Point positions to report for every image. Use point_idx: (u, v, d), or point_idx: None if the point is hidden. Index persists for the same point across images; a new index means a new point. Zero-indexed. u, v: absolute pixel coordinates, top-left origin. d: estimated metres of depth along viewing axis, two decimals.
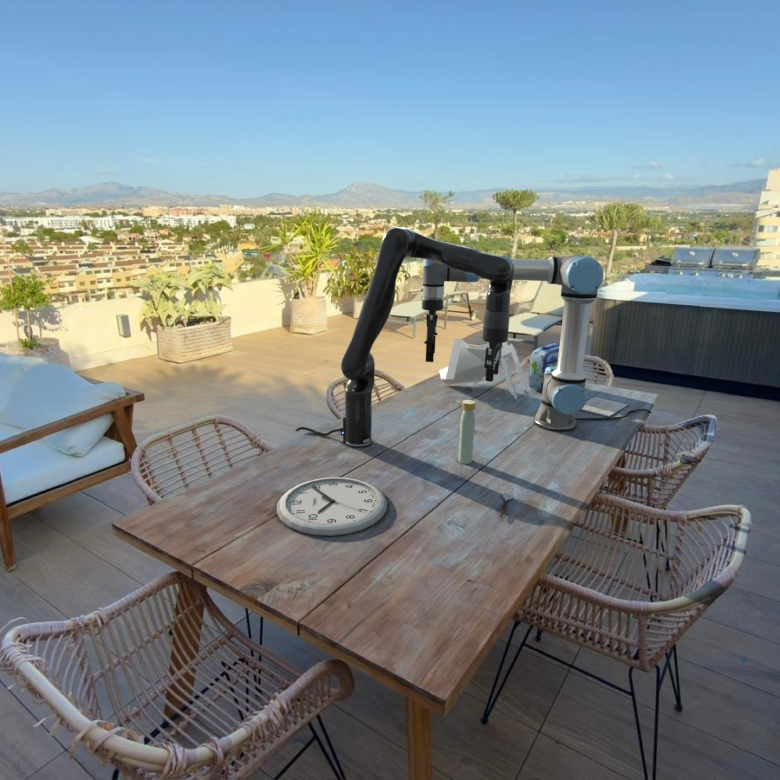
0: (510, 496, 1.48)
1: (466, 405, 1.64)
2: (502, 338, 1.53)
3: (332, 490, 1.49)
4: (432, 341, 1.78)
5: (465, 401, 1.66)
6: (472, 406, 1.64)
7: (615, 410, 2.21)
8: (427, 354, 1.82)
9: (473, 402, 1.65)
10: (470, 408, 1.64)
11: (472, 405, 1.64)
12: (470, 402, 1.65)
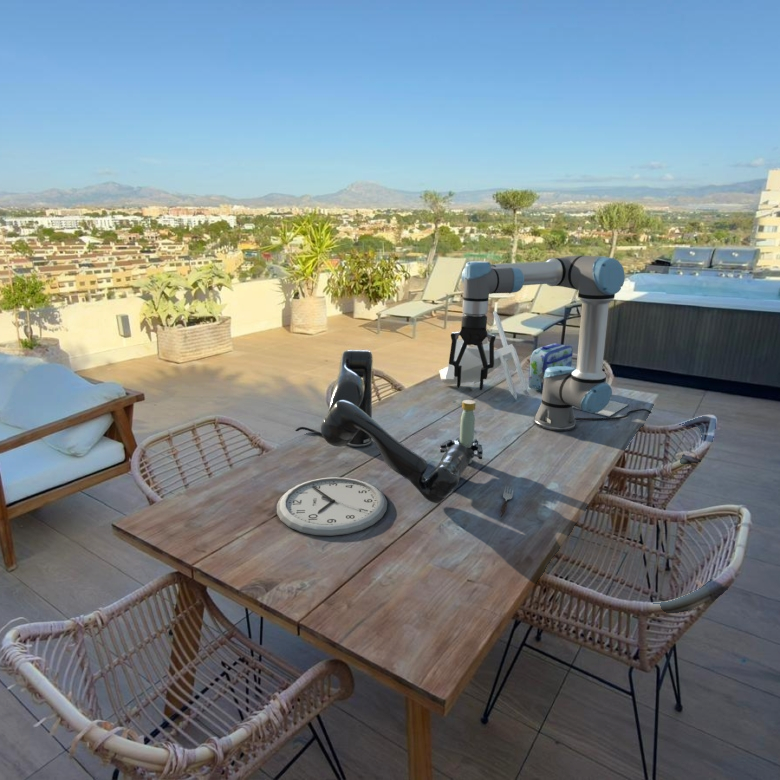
0: (510, 496, 1.48)
1: (466, 405, 1.64)
2: (466, 450, 1.58)
3: (332, 490, 1.49)
4: (449, 361, 1.62)
5: (465, 401, 1.66)
6: (472, 406, 1.64)
7: (615, 410, 2.21)
8: None
9: (473, 402, 1.65)
10: (470, 408, 1.64)
11: (472, 405, 1.64)
12: (470, 402, 1.65)
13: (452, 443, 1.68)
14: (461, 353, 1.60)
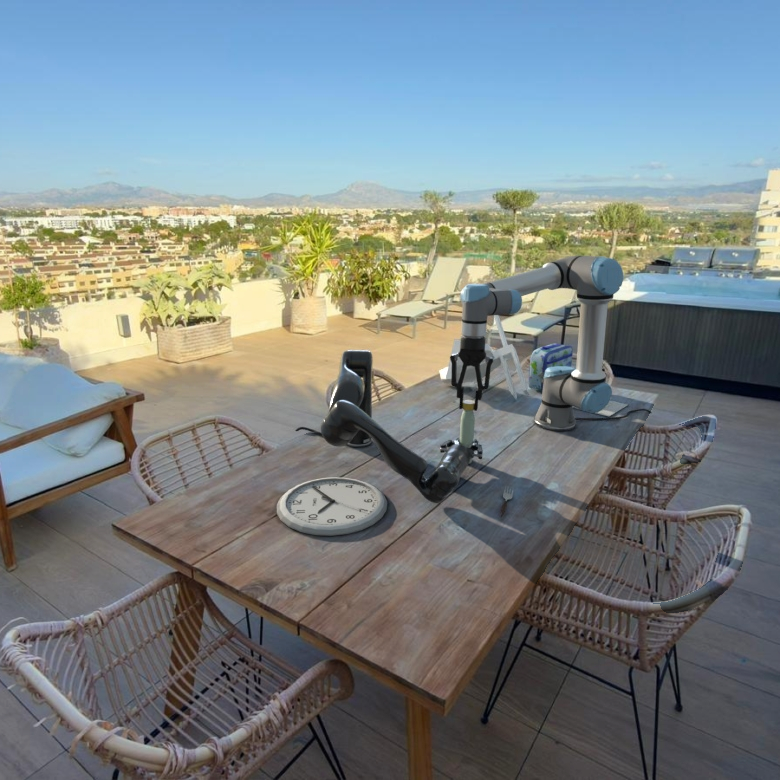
0: (510, 496, 1.48)
1: (466, 405, 1.64)
2: (466, 450, 1.58)
3: (332, 490, 1.49)
4: None
5: (465, 401, 1.66)
6: (472, 406, 1.64)
7: (615, 410, 2.21)
8: None
9: (473, 402, 1.65)
10: (470, 408, 1.64)
11: (472, 405, 1.64)
12: (470, 402, 1.65)
13: (452, 443, 1.68)
14: (462, 375, 1.62)
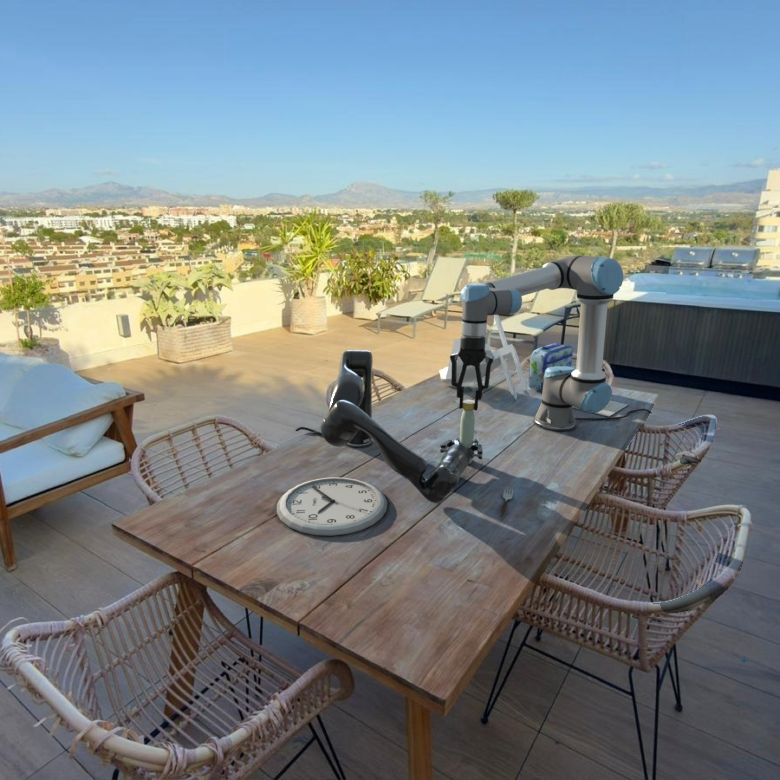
0: (510, 496, 1.48)
1: None
2: (466, 450, 1.58)
3: (332, 490, 1.49)
4: None
5: (469, 402, 1.64)
6: None
7: (615, 410, 2.21)
8: None
9: (468, 400, 1.67)
10: None
11: None
12: (469, 401, 1.66)
13: (452, 443, 1.68)
14: (462, 374, 1.62)
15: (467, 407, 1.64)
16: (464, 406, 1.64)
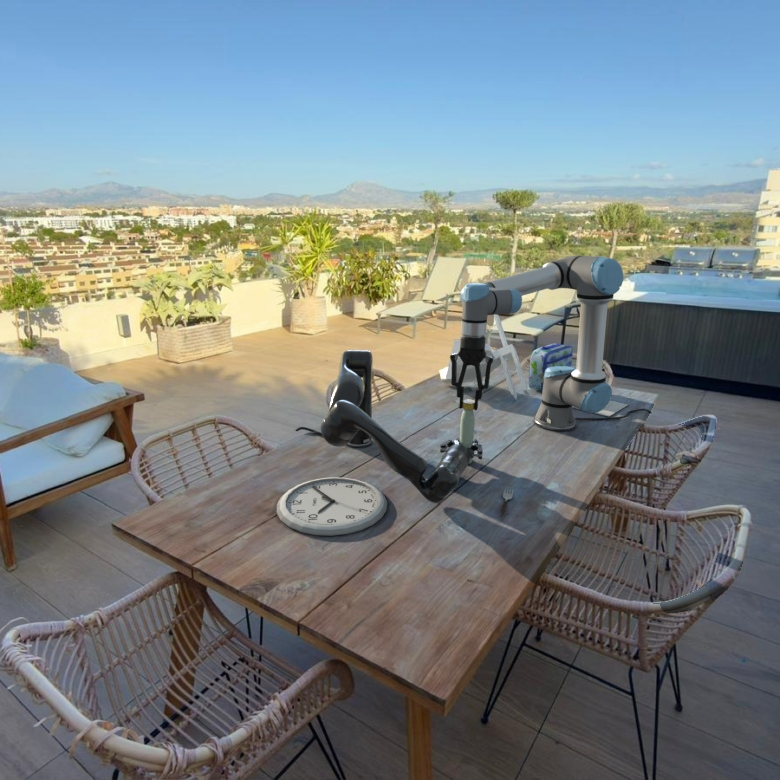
0: (510, 496, 1.48)
1: None
2: (466, 450, 1.58)
3: (332, 490, 1.49)
4: None
5: (472, 400, 1.66)
6: None
7: (615, 410, 2.21)
8: None
9: (464, 401, 1.65)
10: None
11: None
12: (466, 401, 1.65)
13: (452, 443, 1.68)
14: (462, 374, 1.62)
15: None
16: (474, 406, 1.65)
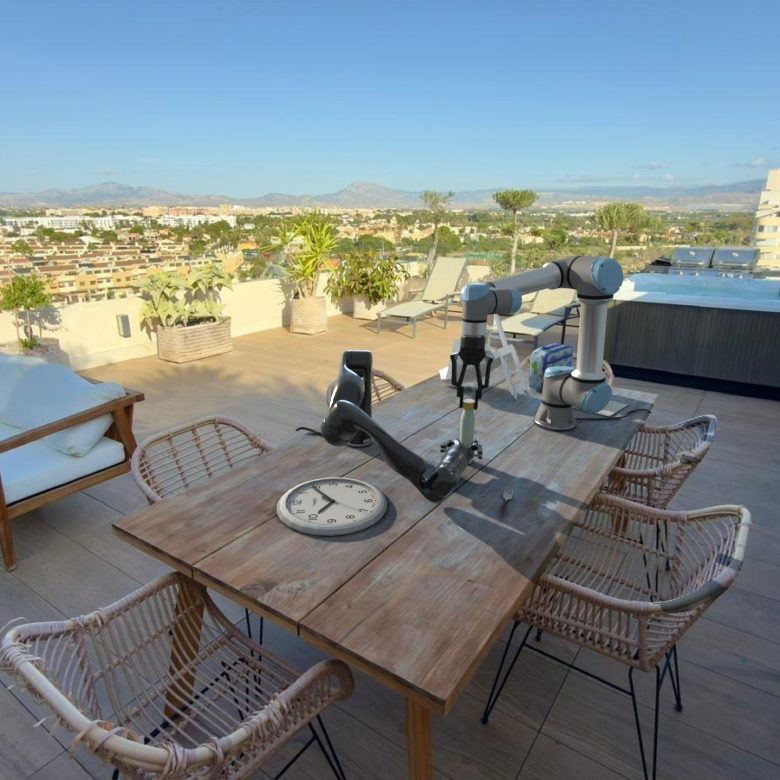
0: (510, 496, 1.48)
1: (463, 403, 1.65)
2: (466, 450, 1.58)
3: (332, 490, 1.49)
4: None
5: (466, 400, 1.66)
6: (468, 405, 1.64)
7: (615, 410, 2.21)
8: None
9: (472, 402, 1.64)
10: (466, 407, 1.64)
11: (468, 404, 1.63)
12: (469, 401, 1.65)
13: (452, 443, 1.68)
14: (462, 374, 1.62)
15: None
16: None
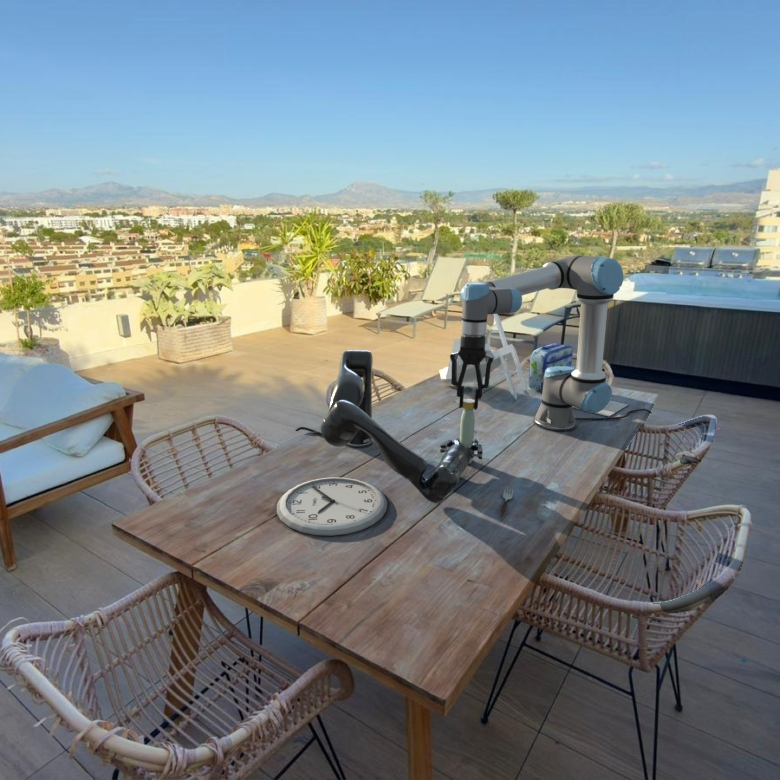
0: (510, 496, 1.48)
1: (473, 404, 1.64)
2: (466, 450, 1.58)
3: (332, 490, 1.49)
4: None
5: (467, 401, 1.64)
6: None
7: (615, 410, 2.21)
8: None
9: (471, 399, 1.66)
10: None
11: None
12: (470, 400, 1.65)
13: (452, 443, 1.68)
14: (462, 373, 1.62)
15: (464, 405, 1.64)
16: (462, 404, 1.65)
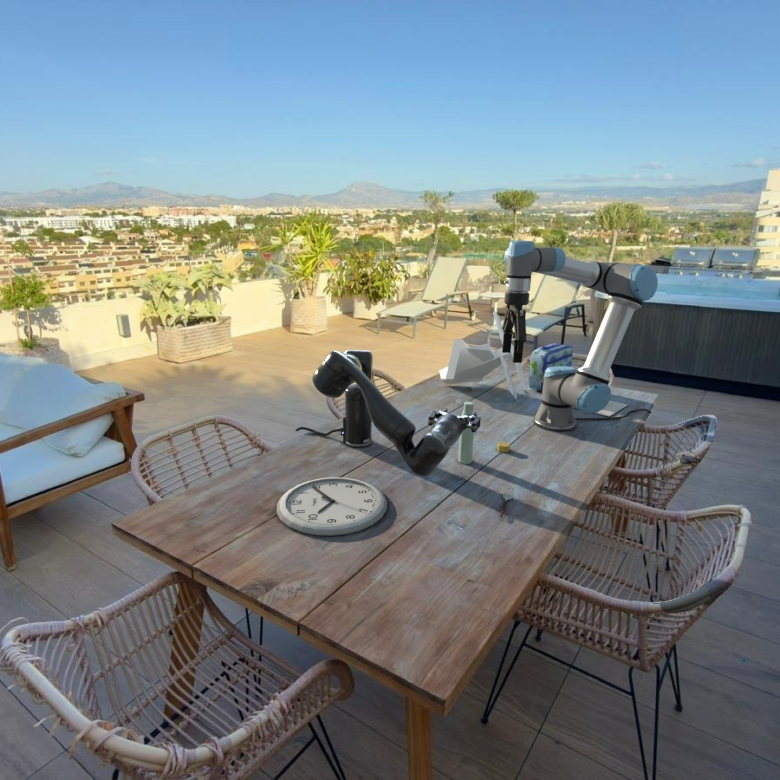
0: (510, 496, 1.48)
1: None
2: (458, 420, 1.42)
3: (332, 490, 1.49)
4: (525, 339, 1.59)
5: (506, 444, 1.80)
6: None
7: (615, 410, 2.21)
8: (515, 354, 1.63)
9: (499, 443, 1.80)
10: None
11: None
12: (501, 443, 1.80)
13: (437, 414, 1.52)
14: None
15: (508, 449, 1.79)
16: (507, 449, 1.79)
